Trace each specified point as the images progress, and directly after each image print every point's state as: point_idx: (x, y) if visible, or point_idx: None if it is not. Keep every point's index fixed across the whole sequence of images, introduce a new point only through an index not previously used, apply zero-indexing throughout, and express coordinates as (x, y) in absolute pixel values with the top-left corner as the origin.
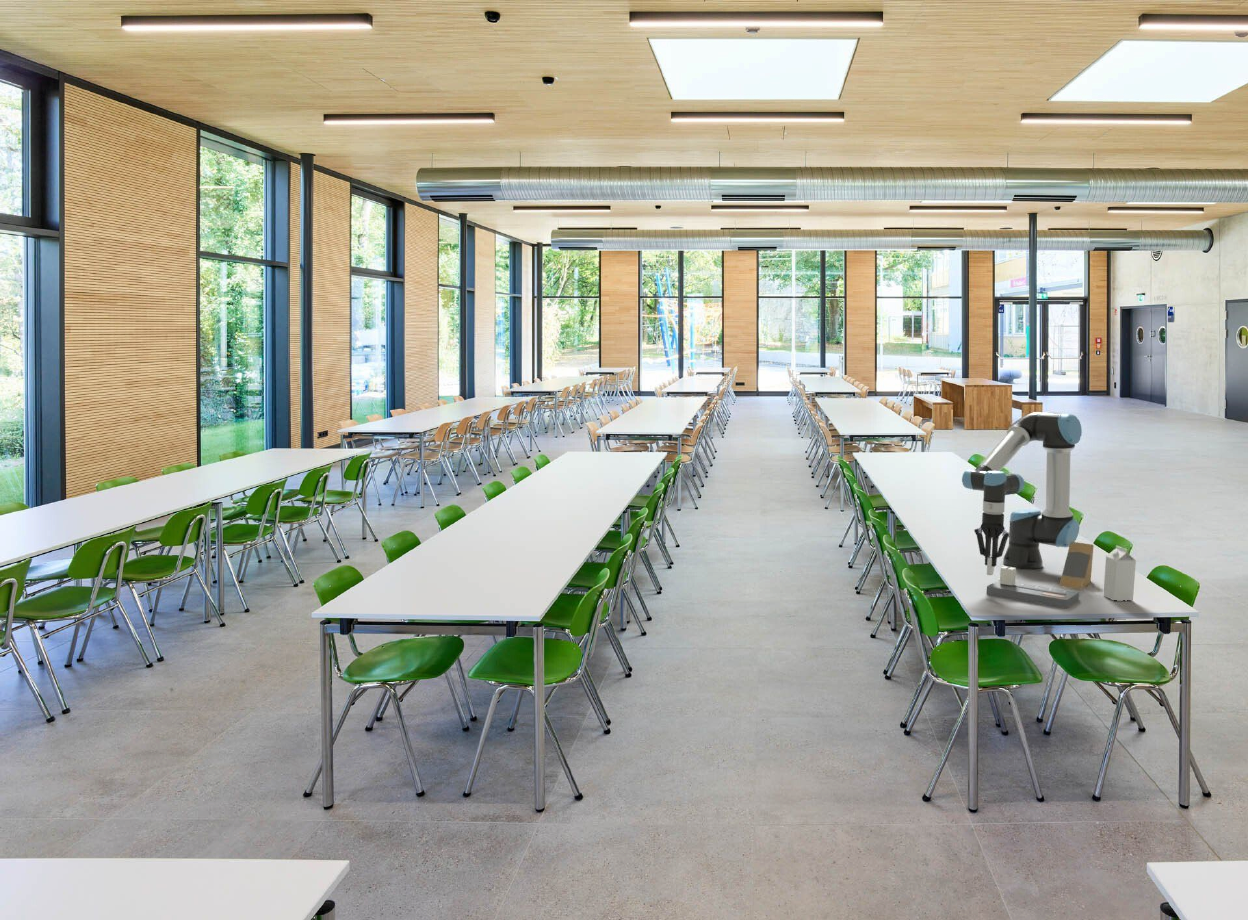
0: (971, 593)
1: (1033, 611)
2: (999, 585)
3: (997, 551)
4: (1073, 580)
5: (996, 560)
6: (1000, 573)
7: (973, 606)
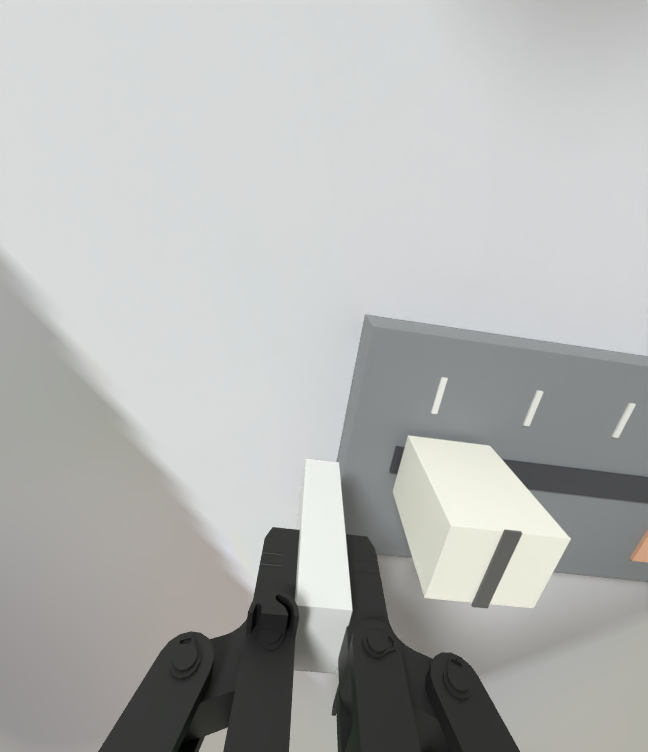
0: (259, 535)
1: (543, 643)
2: (391, 500)
3: (417, 741)
4: None
5: (382, 598)
6: (411, 549)
7: (324, 682)
